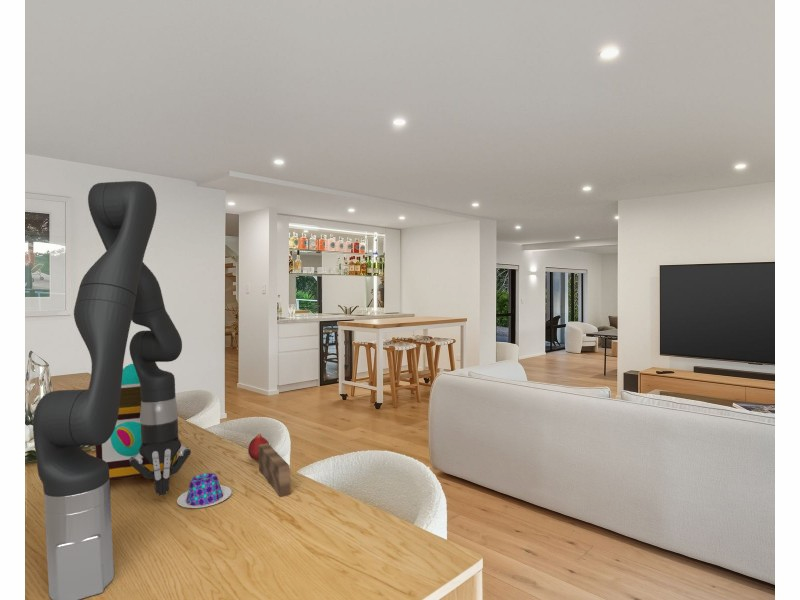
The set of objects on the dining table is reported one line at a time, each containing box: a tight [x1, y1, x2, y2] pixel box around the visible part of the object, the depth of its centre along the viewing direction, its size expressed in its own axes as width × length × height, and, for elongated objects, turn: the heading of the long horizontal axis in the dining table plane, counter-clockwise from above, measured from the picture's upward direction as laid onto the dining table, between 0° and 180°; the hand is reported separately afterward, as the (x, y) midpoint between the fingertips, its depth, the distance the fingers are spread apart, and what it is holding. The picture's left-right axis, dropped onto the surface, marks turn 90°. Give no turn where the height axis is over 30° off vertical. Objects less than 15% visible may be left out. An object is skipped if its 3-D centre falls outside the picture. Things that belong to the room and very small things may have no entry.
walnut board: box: [258, 442, 291, 498], centre depth 123 cm, size 19×2×7 cm, turn 30°
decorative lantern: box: [93, 363, 178, 481], centre depth 128 cm, size 20×20×30 cm
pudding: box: [176, 472, 233, 509], centre depth 115 cm, size 12×12×5 cm
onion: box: [247, 433, 270, 462], centre depth 137 cm, size 6×6×8 cm
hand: (162, 493), depth 110 cm, fingers closed
